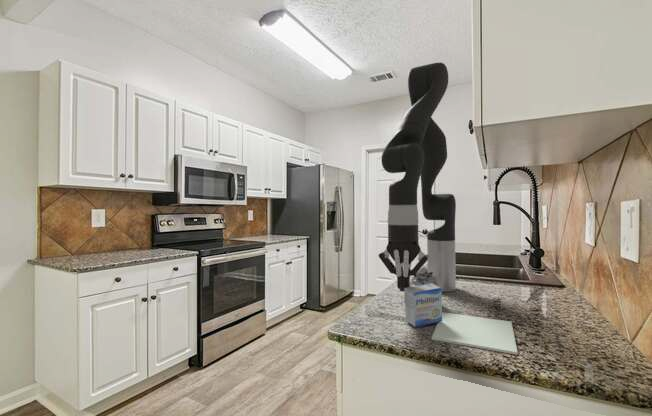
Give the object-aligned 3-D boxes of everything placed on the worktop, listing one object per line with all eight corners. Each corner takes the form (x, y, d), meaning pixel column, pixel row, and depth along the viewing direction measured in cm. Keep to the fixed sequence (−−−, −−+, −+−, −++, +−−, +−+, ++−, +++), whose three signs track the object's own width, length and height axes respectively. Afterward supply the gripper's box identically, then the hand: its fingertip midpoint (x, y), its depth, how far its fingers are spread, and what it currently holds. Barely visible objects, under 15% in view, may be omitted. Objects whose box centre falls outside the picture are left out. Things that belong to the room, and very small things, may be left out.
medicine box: (414, 328, 75) (413, 293, 74) (404, 320, 79) (403, 287, 78) (442, 321, 77) (442, 287, 76) (431, 314, 81) (431, 282, 80)
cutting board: (442, 314, 84) (442, 312, 84) (511, 323, 77) (511, 321, 77) (431, 339, 68) (431, 337, 68) (517, 354, 61) (517, 352, 61)
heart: (445, 301, 94) (438, 261, 95) (440, 309, 86) (431, 266, 87) (412, 302, 99) (405, 264, 100) (404, 310, 91) (396, 269, 92)
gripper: (432, 222, 80) (432, 290, 80) (382, 221, 86) (382, 284, 86) (427, 224, 73) (427, 298, 73) (373, 223, 79) (373, 291, 79)
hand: (403, 290), depth 80 cm, fingers closed
